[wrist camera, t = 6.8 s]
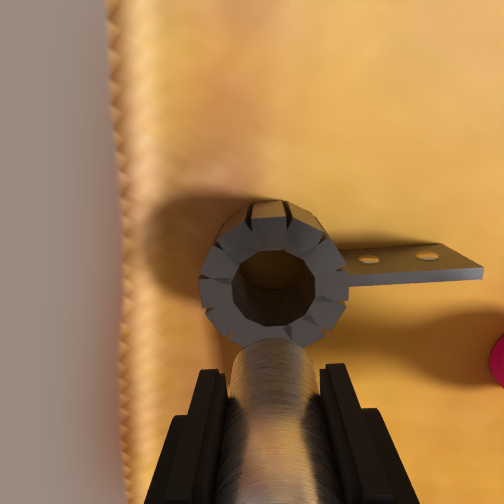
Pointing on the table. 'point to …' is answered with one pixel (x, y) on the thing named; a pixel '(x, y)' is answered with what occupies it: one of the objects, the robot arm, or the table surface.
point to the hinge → (305, 274)
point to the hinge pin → (275, 431)
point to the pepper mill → (498, 362)
